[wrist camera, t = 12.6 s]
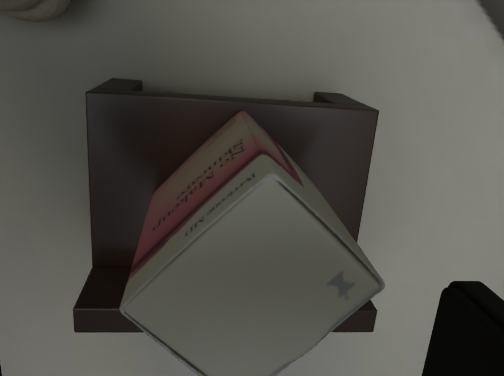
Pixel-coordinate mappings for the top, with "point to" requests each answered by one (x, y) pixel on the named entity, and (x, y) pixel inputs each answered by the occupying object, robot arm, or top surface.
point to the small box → (243, 259)
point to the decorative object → (33, 9)
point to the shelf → (180, 149)
